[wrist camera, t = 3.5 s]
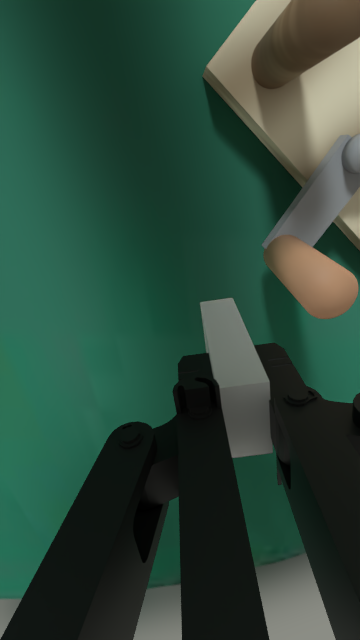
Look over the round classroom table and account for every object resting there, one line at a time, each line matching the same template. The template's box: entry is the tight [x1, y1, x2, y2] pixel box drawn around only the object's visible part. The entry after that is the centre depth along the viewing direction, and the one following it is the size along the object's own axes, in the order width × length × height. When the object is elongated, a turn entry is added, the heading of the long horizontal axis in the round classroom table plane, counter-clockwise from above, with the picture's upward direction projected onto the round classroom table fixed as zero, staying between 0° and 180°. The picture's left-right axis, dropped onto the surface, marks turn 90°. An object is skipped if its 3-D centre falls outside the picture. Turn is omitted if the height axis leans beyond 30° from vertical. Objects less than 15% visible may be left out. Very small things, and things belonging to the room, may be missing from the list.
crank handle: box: [262, 134, 360, 319], centre depth 17 cm, size 9×2×8 cm, turn 148°
